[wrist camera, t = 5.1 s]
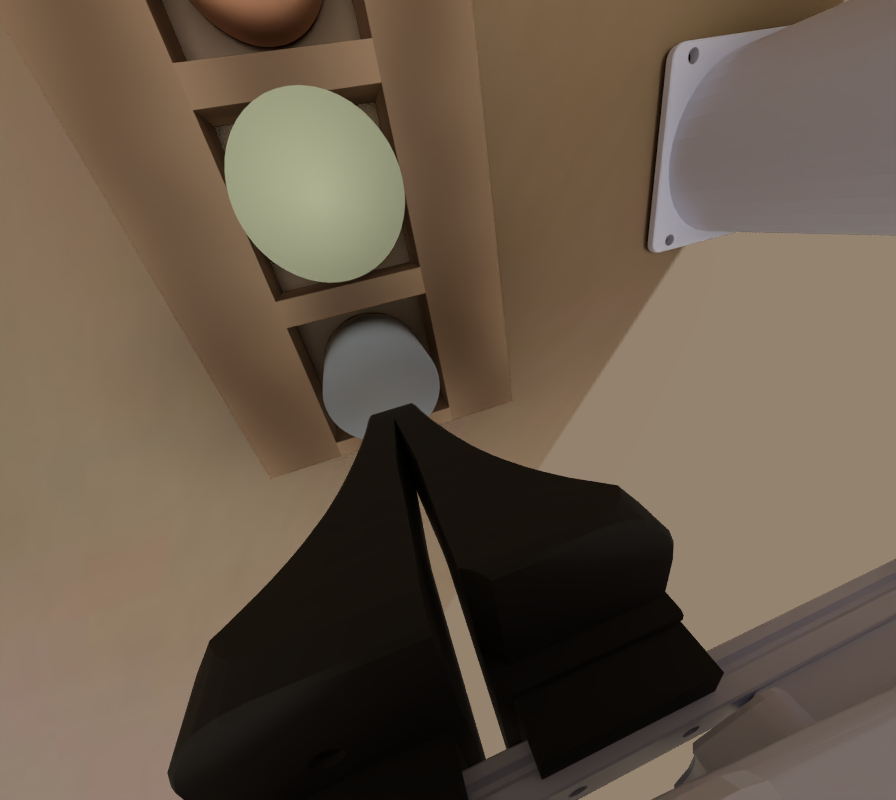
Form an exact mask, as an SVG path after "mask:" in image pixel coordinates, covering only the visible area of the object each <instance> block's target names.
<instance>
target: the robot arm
mask: <svg viewBox="0 0 896 800" xmlns="http://www.w3.org/2000/svg"><path fill="white" fill-rule="evenodd" d="M689 53H690V58H691V59H690V63H689V61H688V56H689ZM735 232H764V233H806V234H849V235H850V234H851V235H891V236H896V0H849V1H847V2H844V3H842V4H840V5H837V6H835V7H833V8H830V9H828V10H826V11H823V12H821V13H819V14H816V15H814V16H812V17H809V18H807V19H805V20H802V21H800V22H798V23H795V24H793V25H790V26H783V27H776V28H770V29H763V30H756V31H749V32H743V33H736V34H729V35H723V36H716V37H709V38H703V39H696V40H689V41H684V42H682V43H680V44H678V45H676V46H674V47H673V48H672V49H671V50H670V52H669V54H668V57H667V61H666V69H665V79H664V89H663V99H662V109H661V119H660V128H659V138H658V148H657V158H656V168H655V178H654V187H653V197H652V207H651V217H650V227H649V237H648V249H649V251H651V252H655V253H660V252H663V251H667V250H671V249H675V248H679V247H682V246H686V245H690V244H693V243H697V242H701V241H705V240H708V239H712V238H716V237H720V236H724V235H728V234H731V233H735ZM667 237H668V239H667V242H666V243H665V240H666V238H667ZM416 490H417V491H416ZM417 493H418V495H419V497H420V500H421V502H422V504H423V507H424V509H425V511H426V514H427V516H428V518H429V521H430V523H431V525H432V528H433V530H434V532H435V535H436V537H437V539H438V542H439V544H440V546H441V549H442V551H443V554H444V556H445V559H446V562H447V564H448V567H449V570H450V573H451V576H452V580H453V583H454V586H455V589H456V592H457V595H458V598H459V601H460V604H461V608H462V610H463V614H464V617H465V620H466V623H467V626H468V629H469V632H470V635H471V639H472V642H473V645H474V648H475V651H476V654H477V658H478V661H479V664H480V667H481V670H482V673H483V676H484V679H485V682H486V686H487V689H488V692H489V695H490V698H491V701H492V705H493V707H494V710H495V714H496V717H497V720H498V723H499V726H500V730H501V733H502V736H503V739H504V742H505V745H506V748H507V749H506V750H504V751H502V752H500V753H498V754H496V755H494V756H492V757H490V758H488V759H486V758H485V755H484V751H483V748H482V744H481V741H480V737H479V734H478V730H477V727H476V723H475V720H474V717H473V714H472V710H471V706H470V703H469V699H468V696H467V693H466V689H465V685H464V682H463V679H462V675H461V671H460V668H459V664H458V661H457V658H456V654H455V651H454V647H453V644H452V640H451V637H450V633H449V629H448V626H447V622H446V619H445V615H444V612H443V608H442V605H441V601H440V598H439V594H438V591H437V587H436V584H435V580H434V577H433V573H432V569H431V565H430V560H429V556H428V550H427V545H426V540H425V534H424V529H423V523H422V518H421V512H420V507H419V502H418V496H417ZM672 560H673V539H672V537H671V534H670V532H669V530H668V529H666V527H665V526H664V525H662V524H661V523H660V522H659V521H658V520H657V519H656V518H655V517H654V516H653V515H652V514H651V513H649V511H648V510H647V509H645V508H644V507H643V506H642V505H641V504H640V503H639V502H638V501H636V500H635V499H634V498H633V497H631V496H630V495H629V494H627V493H626V492H625V491H624V490H622V489H621V488H620V487H619V486H617V485H611V484H605V483H599V482H593V481H587V480H580V479H574V478H568V477H564V476H559V475H555V474H551V473H546V472H542V471H539V470H535V469H531V468H528V467H524V466H521V465H518V464H515V463H512V462H509V461H507V460H504V459H501V458H498V457H496V456H493V455H491V454H489V453H486V452H484V451H482V450H480V449H478V448H476V447H474V446H472V445H470V444H468V443H466V442H465V441H463V440H461V439H460V438H458V437H456V436H455V435H453V434H452V433H450V432H448V431H447V430H446V429H444V428H443V427H441V426H440V425H438V424H437V423H436V422H434V421H433V420H432V419H431V418H429V417H428V416H427V415H426V414H424V413H423V412H422V411H421V410H420V409H419V408H418V407H417V406H416V405H414V404H412V403H410V404H406V405H403V406H400V407H396V408H393V409H390V410H387V411H383V412H380V413H377V414H373V415H371V416H370V418H369V420H368V424H367V428H366V431H365V434H364V437H363V440H362V443H361V446H360V448H359V451H358V453H357V456H356V458H355V461H354V463H353V465H352V467H351V469H350V471H349V473H348V475H347V477H346V479H345V481H344V483H343V485H342V487H341V489H340V491H339V492H338V494H337V496H336V498H335V499H334V501H333V502H332V504H331V506H330V507H329V509H328V510H327V512H326V513H325V515H324V516H323V518H322V519H321V520H320V522H319V523H318V524H317V526H316V527H315V528H314V530H313V531H312V532H311V534H310V535H309V536H308V538H307V539H306V540H305V542H304V543H303V544H302V545H301V547H300V548H299V549H298V550H297V551H296V553H295V554H294V555H293V556H292V557H291V558H290V560H289V561H288V562H287V563H286V564H285V565H284V566H283V568H282V569H281V570H280V571H279V572H278V573H277V574H276V575H275V576H274V578H273V579H272V580H271V581H270V582H269V583H268V584H267V585H266V586H265V587H264V588H263V589H262V590H261V591H260V592H259V593H258V594H257V595H256V596H255V597H254V598H253V599H252V600H251V601H250V602H249V603H248V604H247V605H246V606H245V607H244V608H243V609H242V610H241V611H240V612H239V613H238V614H237V615H236V616H235V617H234V618H233V619H232V620H231V621H230V622H229V623H228V624H227V625H226V626H225V627H224V628H223V629H222V630H221V631H220V632H218V633H217V634H216V635H215V636H214V637H213V638H212V639H211V640H210V641H209V644H208V646H207V649H206V652H205V655H204V657H203V660H202V662H201V665H200V668H199V670H198V673H197V676H196V679H195V682H194V686H193V689H192V692H191V696H190V699H189V702H188V706H187V709H186V712H185V716H184V719H183V722H182V726H181V729H180V732H179V736H178V739H177V742H176V746H175V749H174V752H173V756H172V759H171V762H170V766H169V769H168V777H169V780H170V784H171V787H172V789H173V790H174V791H175V793H176V794H177V795H179V796H180V797H181V798H182V799H184V800H578V799H580V798H582V797H584V796H586V795H588V794H589V793H591V792H593V791H595V790H597V789H599V788H601V787H603V786H604V785H606V784H608V783H610V782H612V781H614V780H616V779H618V778H619V777H621V776H623V775H625V774H627V773H629V772H631V771H632V770H634V769H636V768H638V767H640V766H642V765H644V764H646V763H648V762H649V761H651V760H653V759H655V758H657V757H659V756H661V755H663V754H664V753H666V752H668V751H670V750H672V749H674V748H676V747H677V746H679V745H681V744H683V743H685V742H687V741H689V740H691V739H693V738H694V737H696V736H698V735H700V734H702V733H704V732H706V731H708V730H709V729H711V728H712V729H711V730H710V731H708V732H707V733H706V734H704V735H703V736H702V737H700V738H699V739H698V740H696V741H695V742H694V743H693V754H694V757H693V760H692V762H691V764H690V766H689V768H688V769H687V771H685V773H684V774H683V775H682V776H681V777H680V779H679V780H678V781H677V782H676V783H675V786H674V787H675V788H674V789H673V790H670V791H668V792H666V793H664V794H662V795H660V796H658V797H656V798H654V799H652V800H896V559H894V560H892V561H890V562H888V563H886V564H884V565H882V566H880V567H878V568H876V569H874V570H872V571H870V572H868V573H866V574H864V575H862V576H860V577H858V578H855V579H853V580H851V581H850V582H847V583H845V584H843V585H841V586H839V587H837V588H835V589H833V590H831V591H829V592H827V593H825V594H823V595H821V596H819V597H817V598H815V599H813V600H811V601H809V602H806V603H805V604H802V605H800V606H798V607H796V608H794V609H792V610H790V611H788V612H786V613H784V614H782V615H780V616H778V617H776V618H774V619H772V620H770V621H768V622H766V623H764V624H762V625H760V626H757V627H755V628H754V629H751V630H749V631H747V632H745V633H743V634H741V635H739V636H737V637H735V638H733V639H731V640H729V641H727V642H725V643H723V644H721V645H719V646H717V647H715V648H713V649H711V650H708V651H705V649H704V648H703V647H702V646H701V645H700V644H699V642H698V641H697V640H696V639H695V638H694V637H693V636H692V634H691V633H690V632H689V631H688V630H687V629H686V627H685V626H684V625H683V624H682V623H681V622H680V621H681V620H683V616H684V615H683V613H682V611H681V609H680V608H679V607H678V606H677V605H676V603H675V602H674V601H673V600H672V599H671V598H670V597H669V595H668V594H667V593H666V592H665V590H666V586H667V581H668V577H669V573H670V568H671V564H672ZM713 727H714V728H713Z"/></svg>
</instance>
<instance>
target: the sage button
mask: <svg viewBox="0 0 896 800" xmlns="http://www.w3.org/2000/svg"><path fill="white" fill-rule="evenodd" d="M225 180H226V187H227V191H228V195H229V199H230V202H231V205H232V207H233V210H234V213H235V215H236V217H237V219H238V221H239V223H240V224H241V226H242V228H243V229H244V231H245V232H246V234H247V235H248V237H249V238H250V239H251V240H252V242H253V243H254V244H255V245H256V247H257V248H258V249H259V250H260V251H261V252H262V253H263V254H264V255H265V256H267V257H268V258H269V259H270V260H272V261H273V262H274V263H275V264H277V265H279V266H280V267H282V268H283V269H285V270H287V271H289V272H291V273H293V274H295V275H297V276H300V277H303V278H305V279H309V280H313V281H318V282H328V283H331V282H343V281H349V280H352V279H355V278H358V277H360V276H363V275H365V274H367V273H368V272H370V271H371V270H373V269H374V268H376V267H377V266H378V265H379V264H380V263H381V262H382V261H383V260H384V259H385V258H386V257H387V256H388V254H389V253H390V251H391V250H392V248H393V247H394V245H395V243H396V241H397V239H398V236H399V234H400V231H401V227H402V223H403V218H404V210H405V192H404V185H403V179H402V175H401V171H400V167H399V165H398V162H397V159H396V157H395V154H394V152H393V150H392V148H391V146H390V144H389V142H388V141H387V139H386V138H385V136H384V135H383V133H382V132H381V130H380V129H379V128H378V127H377V125H376V124H375V123H374V122H373V121H372V120H371V119H370V118H369V117H368V116H367V115H366V114H365V113H364V112H363V111H362V110H361V109H360V108H358V107H357V106H356V105H354V104H353V103H352V102H350V101H348V100H347V99H345V98H343V97H342V96H340V95H338V94H335V93H333V92H331V91H328V90H326V89H322V88H318V87H314V86H306V85H290V86H284V87H280V88H275V89H273V90H270V91H268V92H266V93H264V94H262V95H260V96H259V97H258V98H256V99H255V100H253V101H252V102H251V103H250V104H249V105H248V106H247V107H246V108H245V109H244V110H243V111H242V113H241V114H240V115H239V117H238V118H237V120H236V122H235V124H234V126H233V128H232V130H231V132H230V135H229V138H228V142H227V146H226V152H225Z"/></svg>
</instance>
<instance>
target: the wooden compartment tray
mask: <svg viewBox="0 0 896 800" xmlns="http://www.w3.org/2000/svg"><path fill="white" fill-rule="evenodd" d="M352 1H353V5H354V10H355V14H356V19H357V23H358V28H359V32H360V37H361V40H353V41H345V42H337V43H329V44H321V45H313V46H305V47H297V48H289V49H281V50H273V51H265V52H257V53H249V54H241V55H233V56H225V57H217V58H209V59H201V60H194V61H186V59H185V56H184V54H183V52H182V49H181V47H180V44H179V42H178V40H177V37H176V35H175V32H174V30H173V27H172V25H171V23H170V20H169V18H168V15H167V13H166V11H165V8H164V6H163V3H162V1H161V0H0V21H1V23H2V24H3V26H4V28H5V29H6V31H7V33H8V34H9V36H10V38H11V39H12V41H13V43H14V45H15V46H16V48H17V50H18V51H19V53H20V55H21V56H22V58H23V60H24V62H25V63H26V65H27V67H28V68H29V70H30V72H31V73H32V75H33V77H34V79H35V80H36V82H37V84H38V85H39V87H40V89H41V90H42V92H43V94H44V95H45V97H46V99H47V101H48V102H49V104H50V106H51V107H52V109H53V111H54V112H55V114H56V116H57V118H58V119H59V121H60V123H61V124H62V126H63V128H64V129H65V131H66V133H67V135H68V136H69V138H70V140H71V141H72V143H73V145H74V146H75V148H76V150H77V151H78V153H79V155H80V157H81V158H82V160H83V162H84V163H85V165H86V167H87V168H88V170H89V172H90V174H91V175H92V177H93V179H94V180H95V182H96V184H97V185H98V187H99V189H100V191H101V192H102V194H103V196H104V197H105V199H106V201H107V202H108V204H109V206H110V207H111V209H112V211H113V213H114V214H115V216H116V218H117V219H118V221H119V223H120V224H121V226H122V228H123V230H124V231H125V233H126V235H127V236H128V238H129V240H130V241H131V243H132V245H133V247H134V248H135V250H136V252H137V253H138V255H139V257H140V258H141V260H142V262H143V263H144V265H145V267H146V269H147V270H148V272H149V274H150V275H151V277H152V279H153V280H154V282H155V284H156V286H157V287H158V289H159V291H160V292H161V294H162V296H163V297H164V299H165V301H166V303H167V304H168V306H169V308H170V309H171V311H172V313H173V314H174V316H175V318H176V319H177V321H178V323H179V325H180V326H181V328H182V330H183V331H184V333H185V335H186V336H187V338H188V340H189V342H190V343H191V345H192V347H193V348H194V350H195V352H196V353H197V355H198V357H199V359H200V360H201V362H202V364H203V365H204V367H205V369H206V370H207V372H208V374H209V375H210V377H211V379H212V381H213V382H214V384H215V386H216V387H217V389H218V391H219V392H220V394H221V396H222V398H223V399H224V401H225V403H226V404H227V406H228V408H229V409H230V411H231V413H232V415H233V416H234V418H235V420H236V421H237V423H238V425H239V426H240V428H241V430H242V431H243V433H244V435H245V437H246V438H247V440H248V442H249V443H250V445H251V447H252V448H253V450H254V452H255V454H256V455H257V457H258V459H259V460H260V462H261V464H262V465H263V467H264V469H265V471H266V472H267V474H268V476H269V477H270V479H271V478H274V477H277V476H280V475H283V474H286V473H289V472H293V471H296V470H299V469H302V468H305V467H308V466H311V465H314V464H317V463H321V462H324V461H327V460H330V459H333V458H336V457H339V456H342V455H345V454H349V453H352V452H355V451H358V450H359V448H360V446H361V443H362V440H363V439H360V438H357V437H355V436H352V435H350V434H348V433H347V432H345V431H344V430H342V429H341V428H340V427H339V426H338V425H337V424H336V423H335V422H334V421H333V420H332V418H331V417H330V416H329V414H328V412H327V410H326V407H325V404H324V400H323V389H322V387H321V384H320V382H319V379H318V377H317V375H316V372H315V370H314V367H313V365H312V363H311V360H310V358H309V355H308V353H307V351H306V348H305V346H304V343H303V341H302V339H301V336H300V334H299V331H298V329H297V326H298V325H302V324H306V323H310V322H314V321H317V320H321V319H325V318H329V317H333V316H337V315H341V314H345V313H349V312H353V311H357V310H361V309H365V308H369V307H372V306H376V305H380V304H384V303H388V302H392V301H396V300H400V299H404V298H408V297H412V296H416V295H418V298H419V303H420V307H421V312H422V316H423V321H424V325H425V330H426V334H427V339H428V343H429V348H430V352H431V357H432V361H433V363H434V364H435V367H436V369H437V372H438V375H439V382H440V390H439V396H438V400H437V403H436V405H435V408H434V410H433V411H432V413H431V415H430V416H429V418H431V419H432V420H433V421H434V422H436V423H437V424H438V425H439V424H442V423H445V422H448V421H451V420H454V419H458V418H461V417H464V416H467V415H470V414H473V413H476V412H479V411H482V410H486V409H489V408H492V407H495V406H498V405H501V404H504V403H507V402H510V401H512V391H511V381H510V372H509V362H508V352H507V342H506V332H505V322H504V312H503V302H502V292H501V282H500V272H499V262H498V252H497V243H496V233H495V223H494V213H493V203H492V193H491V183H490V173H489V163H488V153H487V143H486V133H485V124H484V114H483V104H482V94H481V84H480V74H479V64H478V54H477V44H476V34H475V24H474V14H473V4H472V0H352ZM290 85H306V86H314V87H318V88H322V89H326V90H328V91H331V92H333V93H335V94H338V95H340V96H342V97H343V98H345V99H347V100H348V101H350V102H352V103H353V104H354V105H356V104H363V103H369V102H375V104H376V109H377V113H378V118H379V122H380V127H381V131H382V133H383V135H384V136H385V138H386V139H387V141H388V142H389V144H390V146H391V148H392V150H393V152H394V154H395V157H396V159H397V162H398V165H399V167H400V171H401V175H402V179H403V185H404V192H405V210H404V218H403V223H402V226H403V231H404V235H405V240H406V244H407V249H408V253H409V258H410V262H409V263H405V264H400V265H396V266H392V267H388V268H383V269H379V270H375V271H371V272H368V273H367V274H365V275H363V276H360V277H358V278H355V279H352V280H349V281H343V282H331V283H328V282H324V283H320V284H316V285H312V286H308V287H303V288H299V289H295V290H291V291H287V292H282V290H281V288H280V285H279V283H278V281H277V278H276V276H275V273H274V271H273V269H272V266H271V264H270V261H269V259H268V257H267V256H265V255H264V254H263V253H262V252H261V251H260V250H259V249H258V248H257V247H256V245H255V244H254V243H253V242H252V240H251V239H250V238H249V237H248V235H247V234H246V232H245V231H244V229H243V228H242V226H241V224H240V223H239V221H238V219H237V217H236V215H235V213H234V210H233V207H232V205H231V202H230V199H229V195H228V191H227V187H226V180H225V153H224V150H223V148H222V146H221V143H220V141H219V138H218V136H217V134H216V131H215V129H214V127H215V126H222V125H228V124H234V123H235V122H236V120H237V118H238V117H239V115H240V114H241V113H242V111H243V110H244V109H245V108H246V107H247V106H248V105H249V104H250V103H251V102H252V101H253V100H255V99H256V98H258V97H259V96H260V95H262V94H264V93H266V92H268V91H270V90H273V89H275V88H280V87H284V86H290Z"/></svg>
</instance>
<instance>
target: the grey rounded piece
mask: <svg viewBox="0 0 896 800" xmlns="http://www.w3.org/2000/svg"><path fill="white" fill-rule="evenodd" d="M439 390H440V382H439V375H438V372H437V369H436V367H435V364H434V363H433V361H432V359H431V358H430V356H429V355H428V354H427V352H426V351H425V349H424V348H423V347H422V345H421V344H420V342H419V341H418V340H417V338H416V337H415V335H414V334H413V333H412V331H411V330H410V329H409V328H408V327H407V326H406V325H405V324H404V323H402V322H401V321H399V320H397V319H395V318H393V317H391V316H388V315H384V314H377V313H369V314H362V315H358V316H355V317H353V318H351V319H349V320H347V321H345V322H344V323H342V324H341V325H340V326H339V327H338V328H337V329H336V330H335V331H334V332H333V334H332V335H331V337H330V339H329V341H328V343H327V346H326V350H325V358H324V374H323V400H324V404H325V407H326V410H327V412H328V414H329V416H330V417H331V418H332V420H333V421H334V422H335V423H336V424H337V425H338V426H339V427H340V428H341V429H342V430H344V431H345V432H347V433H348V434H350V435H352V436H355V437H357V438H360V439H363V437H364V434H365V431H366V428H367V424H368V420H369V418H370V416H371V415H373V414H377V413H380V412H383V411H387V410H390V409H393V408H396V407H400V406H403V405H406V404H410V403H412V404H414V405H416V406H417V407H418V408H419V409H420V410H421V411H422V412H423V413H424V414H426V415H427V416H428V417H429V416H430V415H431V413H432V411H433V410H434V408H435V405H436V403H437V400H438V396H439Z"/></svg>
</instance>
